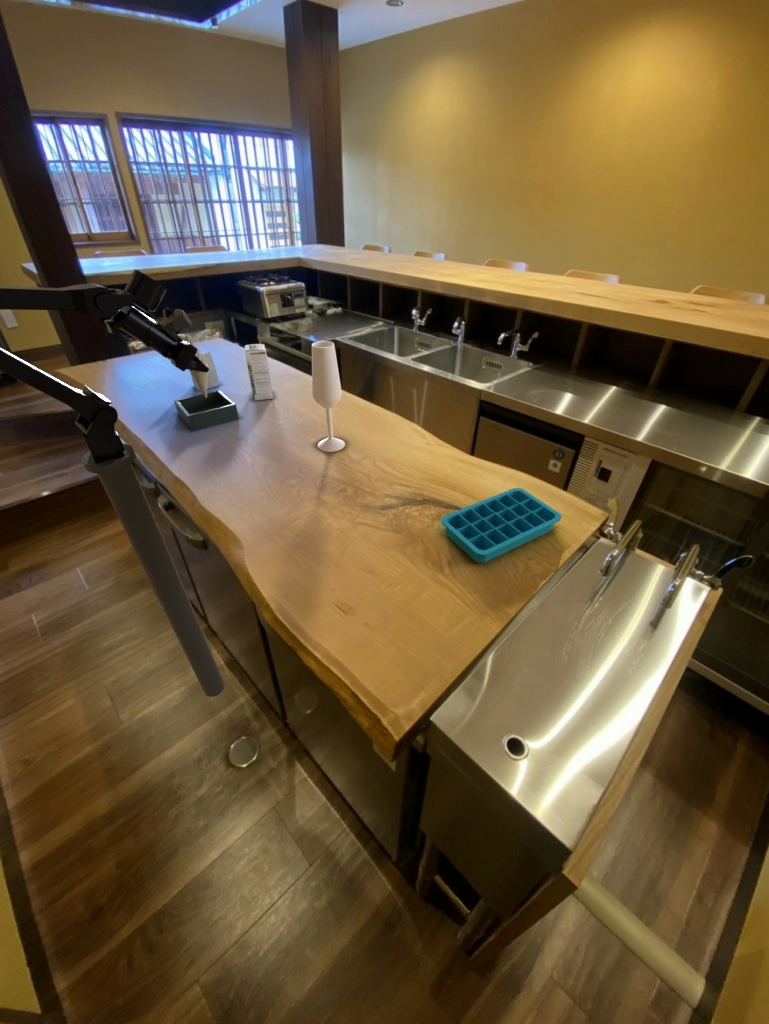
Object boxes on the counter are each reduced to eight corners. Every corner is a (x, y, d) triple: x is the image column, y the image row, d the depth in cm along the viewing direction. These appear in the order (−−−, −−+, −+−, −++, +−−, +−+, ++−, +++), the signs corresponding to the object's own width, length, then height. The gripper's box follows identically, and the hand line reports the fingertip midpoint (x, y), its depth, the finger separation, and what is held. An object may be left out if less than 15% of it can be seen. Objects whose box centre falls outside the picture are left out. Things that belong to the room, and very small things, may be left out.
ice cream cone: (201, 393, 115) (186, 335, 106) (219, 394, 114) (205, 336, 105) (192, 400, 111) (175, 341, 102) (210, 401, 110) (195, 342, 101)
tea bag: (219, 385, 134) (212, 353, 128) (198, 390, 131) (189, 357, 125) (215, 382, 137) (207, 350, 131) (194, 387, 133) (185, 354, 127)
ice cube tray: (436, 531, 78) (437, 518, 77) (515, 498, 87) (518, 486, 85) (478, 569, 71) (480, 556, 69) (560, 529, 79) (565, 517, 77)
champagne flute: (350, 445, 104) (345, 344, 89) (328, 454, 100) (318, 351, 86) (334, 435, 108) (326, 337, 93) (312, 444, 104) (300, 343, 90)
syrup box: (252, 393, 129) (243, 344, 120) (272, 391, 131) (264, 343, 122) (253, 401, 125) (244, 350, 116) (274, 398, 126) (266, 348, 117)
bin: (192, 431, 110) (187, 416, 107) (178, 414, 118) (173, 400, 115) (239, 418, 116) (235, 404, 113) (222, 403, 124) (219, 389, 121)
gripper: (176, 306, 90) (236, 350, 103) (150, 292, 102) (206, 333, 114) (149, 350, 91) (211, 389, 103) (126, 332, 102) (185, 368, 115)
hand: (204, 368), depth 109 cm, fingers closed on ice cream cone, 5 cm apart
